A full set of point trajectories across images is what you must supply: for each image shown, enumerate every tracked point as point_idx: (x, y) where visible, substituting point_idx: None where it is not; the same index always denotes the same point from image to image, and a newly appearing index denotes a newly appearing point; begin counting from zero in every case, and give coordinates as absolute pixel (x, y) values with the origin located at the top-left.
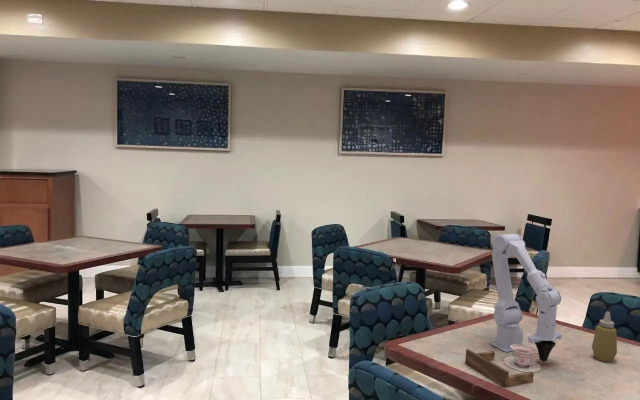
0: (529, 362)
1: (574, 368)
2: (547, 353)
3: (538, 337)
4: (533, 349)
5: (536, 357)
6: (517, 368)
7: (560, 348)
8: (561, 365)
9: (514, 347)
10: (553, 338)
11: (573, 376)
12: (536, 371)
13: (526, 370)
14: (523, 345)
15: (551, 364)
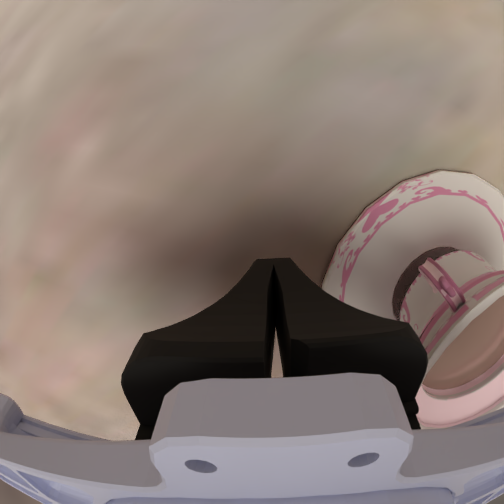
0: (457, 260)
1: (72, 138)
2: (267, 292)
3: (464, 488)
4: (440, 355)
5: (437, 265)
6: (498, 255)
7: (21, 368)
8: (130, 204)
9: (467, 409)
10: (254, 487)
11: (202, 10)
12: (448, 171)
13: (482, 214)
14: (420, 426)
15: (200, 240)
